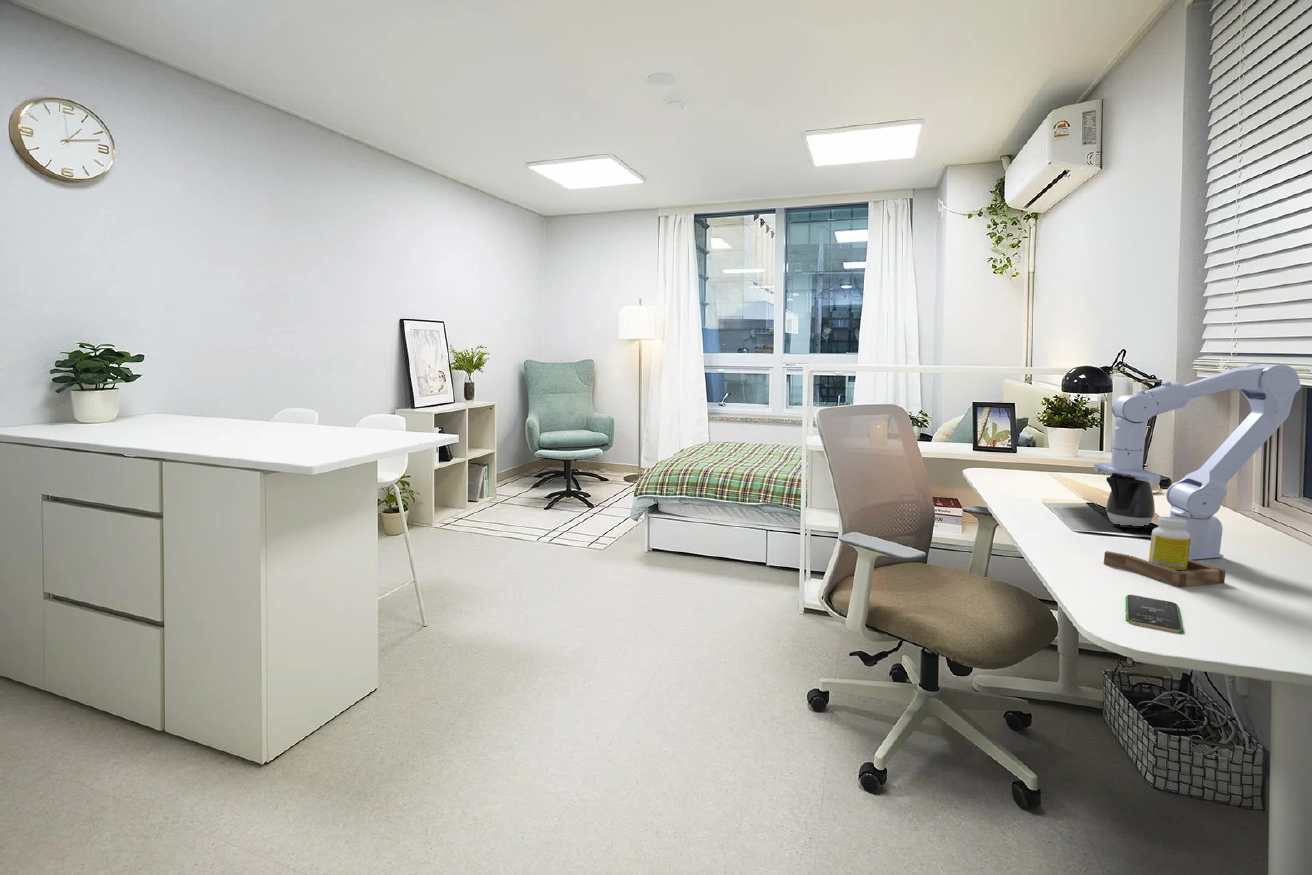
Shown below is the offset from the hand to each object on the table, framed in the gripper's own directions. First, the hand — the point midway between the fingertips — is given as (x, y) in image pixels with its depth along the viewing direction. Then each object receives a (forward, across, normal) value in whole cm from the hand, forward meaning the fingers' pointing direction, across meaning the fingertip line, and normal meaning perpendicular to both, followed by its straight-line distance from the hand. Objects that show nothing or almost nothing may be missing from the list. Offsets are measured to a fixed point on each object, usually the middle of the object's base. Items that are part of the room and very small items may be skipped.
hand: (1122, 508), depth 149 cm
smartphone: (+10, +32, -28) cm, 44 cm away
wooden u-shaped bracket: (+9, +15, -5) cm, 18 cm away
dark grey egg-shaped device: (+10, -16, +21) cm, 28 cm away
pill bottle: (+10, +15, -5) cm, 19 cm away
